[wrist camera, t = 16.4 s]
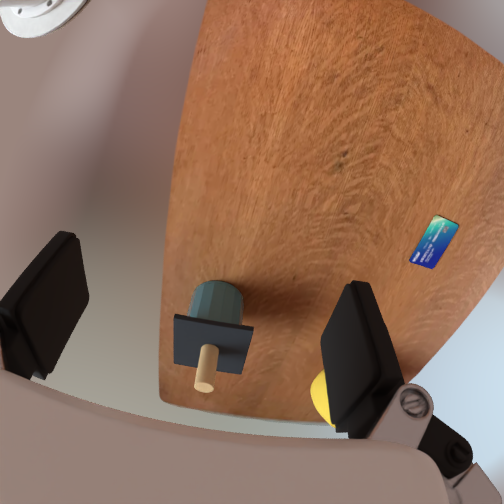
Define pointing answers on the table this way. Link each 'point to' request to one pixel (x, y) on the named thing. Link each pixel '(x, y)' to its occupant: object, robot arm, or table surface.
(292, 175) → the table surface
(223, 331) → the plate with wooden peg
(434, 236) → the credit card
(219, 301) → the cup
